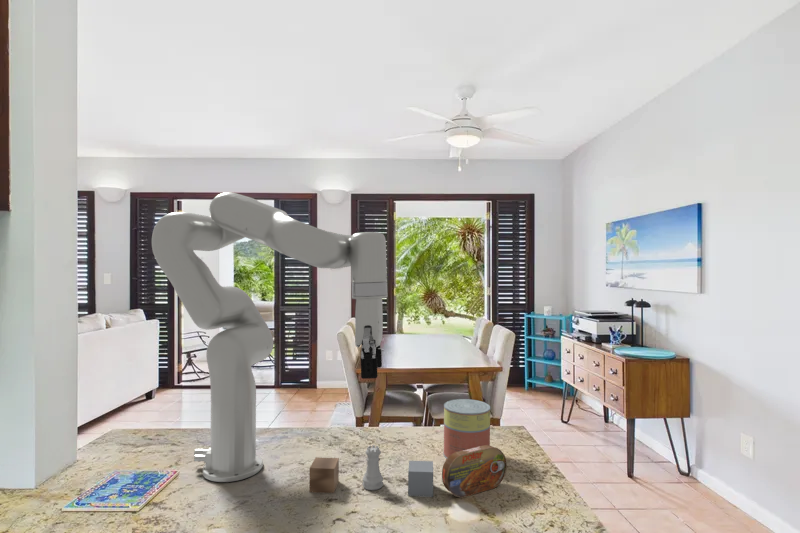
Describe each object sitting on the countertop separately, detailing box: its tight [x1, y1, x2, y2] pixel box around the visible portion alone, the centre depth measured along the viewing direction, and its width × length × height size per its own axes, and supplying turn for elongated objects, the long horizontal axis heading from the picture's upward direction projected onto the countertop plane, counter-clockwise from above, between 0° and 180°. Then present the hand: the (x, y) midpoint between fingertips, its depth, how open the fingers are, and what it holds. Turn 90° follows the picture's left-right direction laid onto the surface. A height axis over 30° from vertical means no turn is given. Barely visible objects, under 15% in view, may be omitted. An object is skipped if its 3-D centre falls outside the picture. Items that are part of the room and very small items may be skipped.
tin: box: [441, 445, 508, 499], centre depth 92 cm, size 15×3×8 cm, turn 117°
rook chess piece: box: [362, 444, 384, 491], centre depth 93 cm, size 4×4×8 cm
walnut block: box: [308, 456, 340, 494], centre depth 93 cm, size 5×5×5 cm
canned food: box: [442, 398, 491, 459], centre depth 109 cm, size 11×11×12 cm
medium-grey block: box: [407, 460, 434, 498], centre depth 92 cm, size 5×5×5 cm
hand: (372, 372), depth 94 cm, fingers open, 9 cm apart
